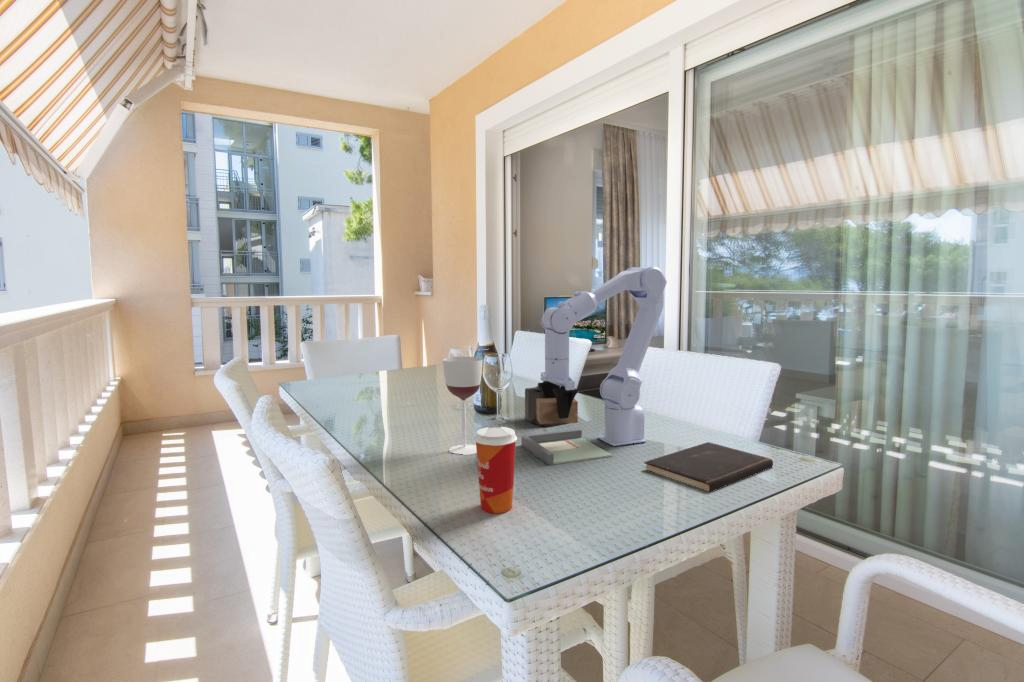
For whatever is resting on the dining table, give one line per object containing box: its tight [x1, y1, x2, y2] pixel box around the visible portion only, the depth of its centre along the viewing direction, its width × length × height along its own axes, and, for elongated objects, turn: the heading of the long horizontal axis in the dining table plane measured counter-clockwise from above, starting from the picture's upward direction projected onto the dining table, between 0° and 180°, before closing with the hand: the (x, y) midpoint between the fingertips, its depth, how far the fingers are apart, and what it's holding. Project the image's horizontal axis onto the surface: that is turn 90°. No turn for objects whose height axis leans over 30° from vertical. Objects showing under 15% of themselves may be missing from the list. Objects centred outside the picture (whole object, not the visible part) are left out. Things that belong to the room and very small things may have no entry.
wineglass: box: [442, 356, 483, 456], centre depth 132 cm, size 9×10×22 cm
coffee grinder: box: [524, 385, 569, 428], centre depth 156 cm, size 16×11×18 cm
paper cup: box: [473, 426, 518, 515], centre depth 99 cm, size 8×8×14 cm
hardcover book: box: [643, 441, 774, 493], centre depth 119 cm, size 16×23×2 cm
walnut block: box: [536, 398, 579, 424], centre depth 132 cm, size 9×5×5 cm, turn 96°
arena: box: [521, 428, 613, 466], centre depth 132 cm, size 16×16×2 cm
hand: (557, 414), depth 133 cm, fingers closed on walnut block, 6 cm apart
